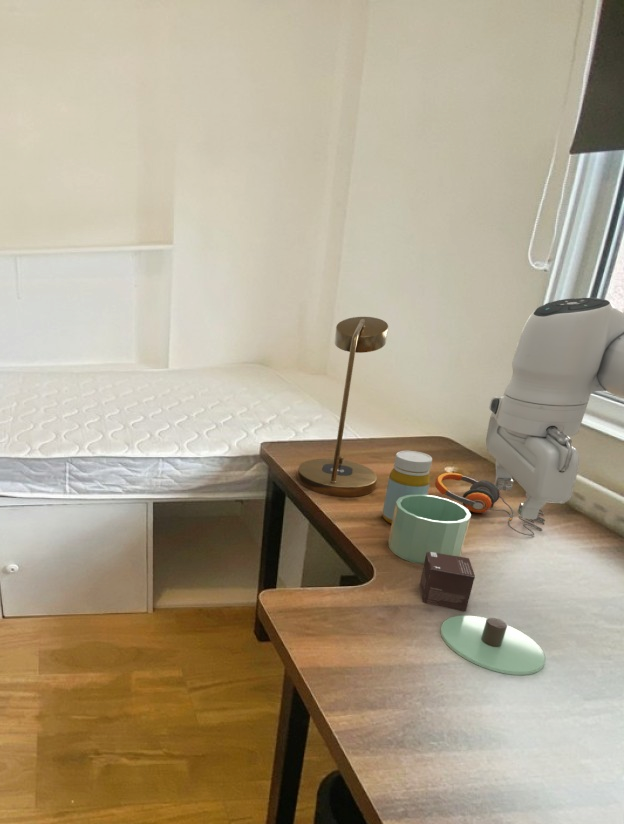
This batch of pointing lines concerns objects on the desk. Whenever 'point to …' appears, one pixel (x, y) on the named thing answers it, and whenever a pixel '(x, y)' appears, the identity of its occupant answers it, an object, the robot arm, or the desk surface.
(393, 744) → the desk surface
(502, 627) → the lid
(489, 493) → the headphones
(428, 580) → the box
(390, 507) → the bottle
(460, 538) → the canister
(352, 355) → the lamp
